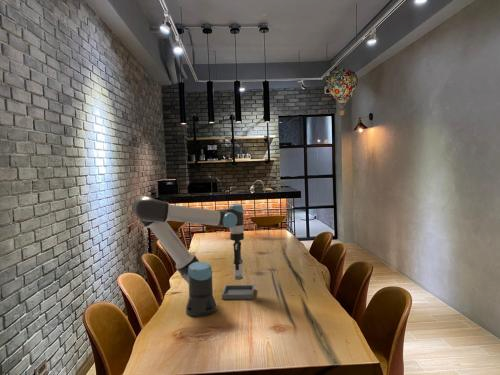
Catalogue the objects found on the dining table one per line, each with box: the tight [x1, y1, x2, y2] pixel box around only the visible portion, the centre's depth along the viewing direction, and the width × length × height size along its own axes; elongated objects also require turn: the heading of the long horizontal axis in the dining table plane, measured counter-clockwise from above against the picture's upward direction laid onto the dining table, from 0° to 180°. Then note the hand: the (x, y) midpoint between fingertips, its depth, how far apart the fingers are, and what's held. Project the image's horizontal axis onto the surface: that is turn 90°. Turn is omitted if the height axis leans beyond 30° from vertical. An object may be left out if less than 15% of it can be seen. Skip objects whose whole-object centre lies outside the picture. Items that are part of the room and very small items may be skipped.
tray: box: [221, 284, 255, 300], centre depth 207 cm, size 17×16×3 cm
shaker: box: [233, 258, 244, 281], centre depth 206 cm, size 5×5×10 cm
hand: (238, 273), depth 206 cm, fingers closed on shaker, 5 cm apart
